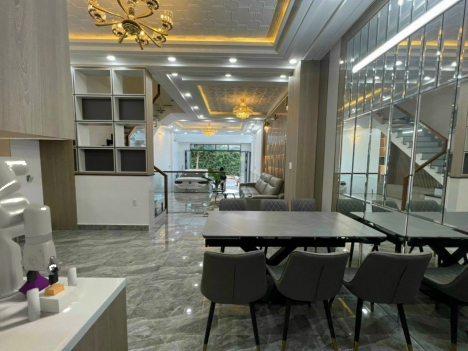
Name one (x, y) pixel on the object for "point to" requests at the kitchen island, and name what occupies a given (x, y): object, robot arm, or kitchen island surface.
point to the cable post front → (33, 304)
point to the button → (54, 289)
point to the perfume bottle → (35, 284)
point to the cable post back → (72, 277)
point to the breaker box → (58, 299)
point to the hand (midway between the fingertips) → (43, 282)
